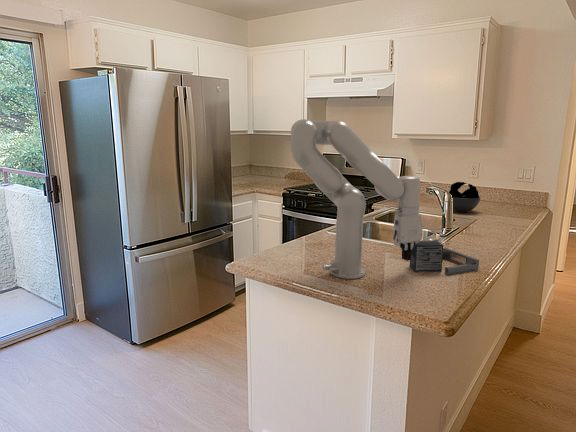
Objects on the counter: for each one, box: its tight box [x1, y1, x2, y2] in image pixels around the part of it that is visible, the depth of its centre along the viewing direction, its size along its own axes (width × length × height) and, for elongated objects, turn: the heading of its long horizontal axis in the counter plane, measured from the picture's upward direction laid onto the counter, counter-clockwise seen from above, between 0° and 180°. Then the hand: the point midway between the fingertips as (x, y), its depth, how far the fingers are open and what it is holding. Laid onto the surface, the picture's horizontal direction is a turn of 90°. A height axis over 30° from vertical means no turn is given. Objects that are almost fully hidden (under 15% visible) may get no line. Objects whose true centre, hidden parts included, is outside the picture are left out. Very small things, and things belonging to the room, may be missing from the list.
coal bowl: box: [448, 181, 481, 213], centre depth 266 cm, size 20×20×19 cm
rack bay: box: [442, 247, 480, 276], centre depth 165 cm, size 15×17×4 cm
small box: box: [408, 240, 445, 273], centre depth 160 cm, size 11×6×10 cm, turn 93°
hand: (406, 259), depth 156 cm, fingers closed
